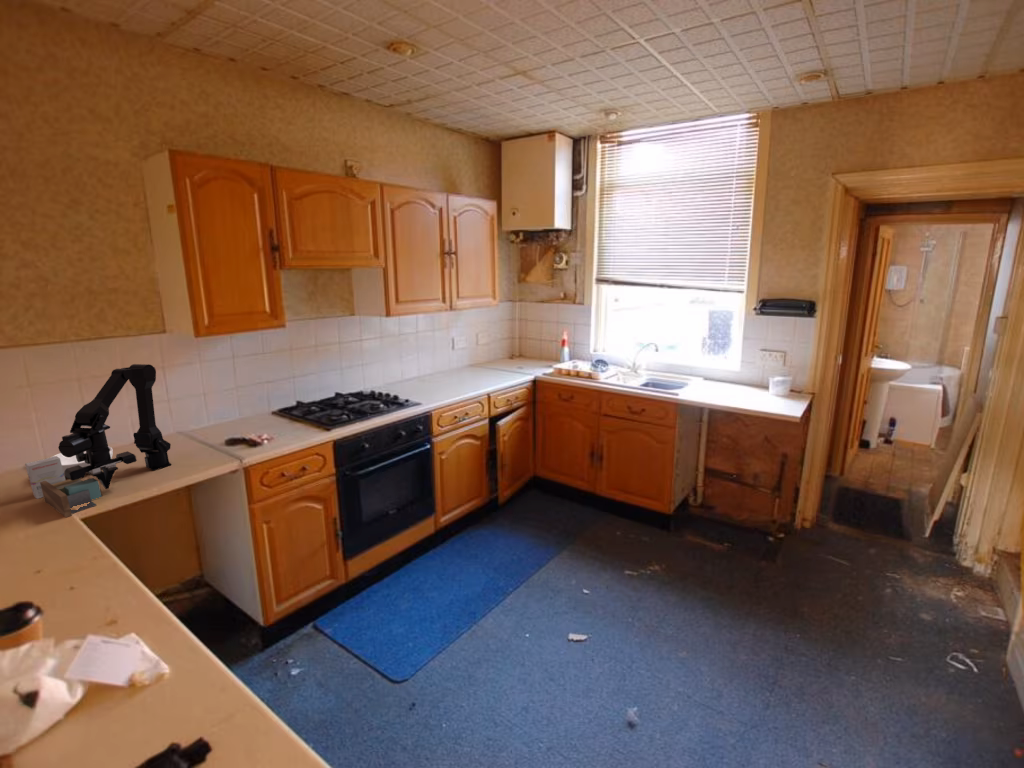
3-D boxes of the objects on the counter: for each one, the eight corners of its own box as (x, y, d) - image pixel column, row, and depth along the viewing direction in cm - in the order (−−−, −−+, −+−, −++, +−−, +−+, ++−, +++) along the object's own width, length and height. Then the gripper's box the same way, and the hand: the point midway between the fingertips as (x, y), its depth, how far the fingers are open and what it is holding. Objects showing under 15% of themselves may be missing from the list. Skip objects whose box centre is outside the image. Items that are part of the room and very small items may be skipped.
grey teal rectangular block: (96, 494, 182) (93, 477, 180) (101, 497, 179) (97, 480, 178) (68, 503, 175) (63, 486, 174) (72, 506, 173) (68, 489, 172)
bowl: (103, 477, 195) (99, 461, 193) (39, 484, 190) (34, 468, 188) (124, 457, 213) (121, 443, 212) (66, 463, 208) (62, 448, 206)
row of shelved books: (80, 491, 184) (77, 476, 182) (87, 496, 180) (84, 481, 179) (51, 500, 177) (47, 485, 176) (58, 505, 174) (54, 490, 173)
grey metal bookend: (91, 501, 176) (88, 489, 175) (96, 505, 174) (93, 492, 173) (64, 510, 171) (61, 497, 170) (70, 514, 168) (67, 501, 167)
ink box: (64, 486, 188) (56, 454, 185) (68, 490, 185) (60, 458, 182) (32, 495, 182) (24, 462, 179) (36, 499, 179) (27, 466, 176)
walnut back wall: (50, 500, 178) (45, 480, 176) (71, 515, 167) (66, 495, 166) (44, 501, 177) (39, 482, 175) (66, 517, 166) (60, 496, 164)
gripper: (118, 432, 190) (127, 473, 194) (53, 449, 175) (64, 493, 179) (132, 438, 184) (141, 480, 188) (66, 456, 169) (77, 501, 173)
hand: (106, 488), depth 182 cm, fingers closed
